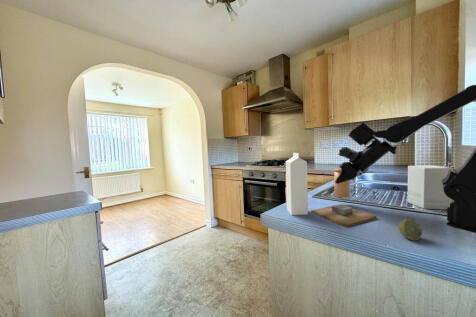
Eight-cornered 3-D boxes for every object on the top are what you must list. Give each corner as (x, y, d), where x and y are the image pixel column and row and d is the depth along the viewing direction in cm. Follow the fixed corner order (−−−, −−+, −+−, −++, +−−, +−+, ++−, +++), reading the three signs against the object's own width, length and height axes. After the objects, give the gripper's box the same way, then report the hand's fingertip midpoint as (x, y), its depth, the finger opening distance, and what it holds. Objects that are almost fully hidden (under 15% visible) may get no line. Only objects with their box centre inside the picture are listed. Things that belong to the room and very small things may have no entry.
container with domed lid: (353, 197, 73) (353, 169, 72) (338, 197, 73) (338, 170, 72) (345, 193, 78) (345, 168, 78) (331, 194, 78) (330, 168, 78)
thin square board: (376, 218, 61) (376, 209, 61) (346, 227, 56) (346, 217, 55) (338, 206, 74) (338, 199, 74) (311, 212, 68) (311, 204, 68)
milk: (291, 215, 67) (289, 153, 65) (286, 209, 73) (285, 152, 71) (308, 214, 67) (307, 152, 65) (302, 208, 73) (300, 152, 71)
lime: (421, 237, 48) (422, 218, 48) (421, 244, 45) (421, 224, 45) (399, 232, 51) (399, 214, 51) (396, 238, 48) (397, 219, 48)
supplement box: (453, 210, 66) (455, 167, 65) (423, 209, 68) (424, 168, 67) (432, 202, 75) (433, 164, 74) (406, 201, 76) (407, 165, 75)
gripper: (359, 139, 78) (331, 165, 86) (345, 139, 65) (314, 169, 73) (383, 158, 73) (351, 183, 81) (373, 163, 60) (336, 192, 68)
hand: (338, 181), depth 76 cm, fingers closed on container with domed lid, 5 cm apart
